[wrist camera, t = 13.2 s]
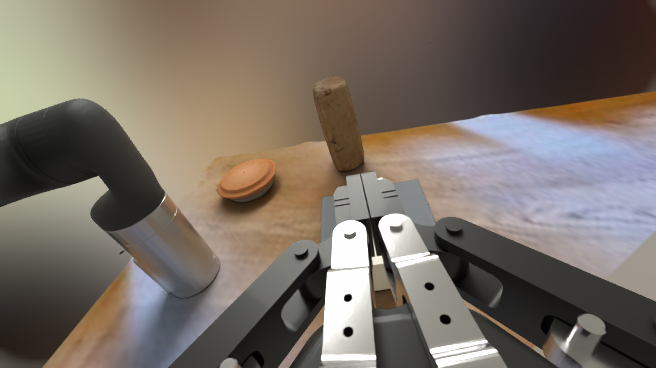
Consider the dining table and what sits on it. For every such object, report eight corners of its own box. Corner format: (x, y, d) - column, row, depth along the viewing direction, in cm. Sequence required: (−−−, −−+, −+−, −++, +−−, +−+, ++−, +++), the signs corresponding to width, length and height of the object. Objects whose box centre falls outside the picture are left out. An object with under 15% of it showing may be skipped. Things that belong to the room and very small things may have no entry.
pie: (291, 169, 73) (284, 153, 70) (262, 210, 62) (253, 193, 59) (244, 169, 79) (237, 155, 76) (211, 207, 68) (201, 192, 65)
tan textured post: (368, 166, 64) (350, 82, 52) (338, 176, 64) (313, 94, 52) (355, 146, 73) (338, 69, 61) (329, 155, 73) (306, 80, 61)
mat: (318, 293, 42) (318, 291, 41) (323, 198, 59) (322, 197, 59) (456, 274, 38) (456, 273, 38) (417, 180, 56) (417, 179, 56)
